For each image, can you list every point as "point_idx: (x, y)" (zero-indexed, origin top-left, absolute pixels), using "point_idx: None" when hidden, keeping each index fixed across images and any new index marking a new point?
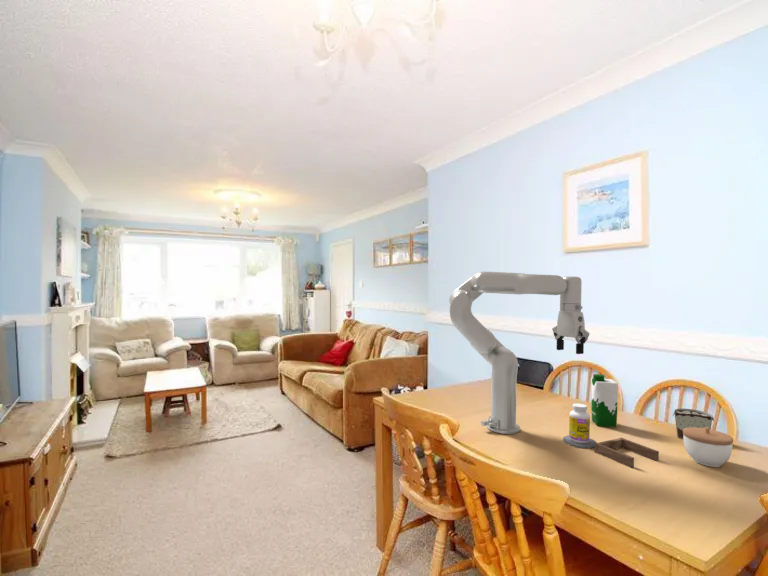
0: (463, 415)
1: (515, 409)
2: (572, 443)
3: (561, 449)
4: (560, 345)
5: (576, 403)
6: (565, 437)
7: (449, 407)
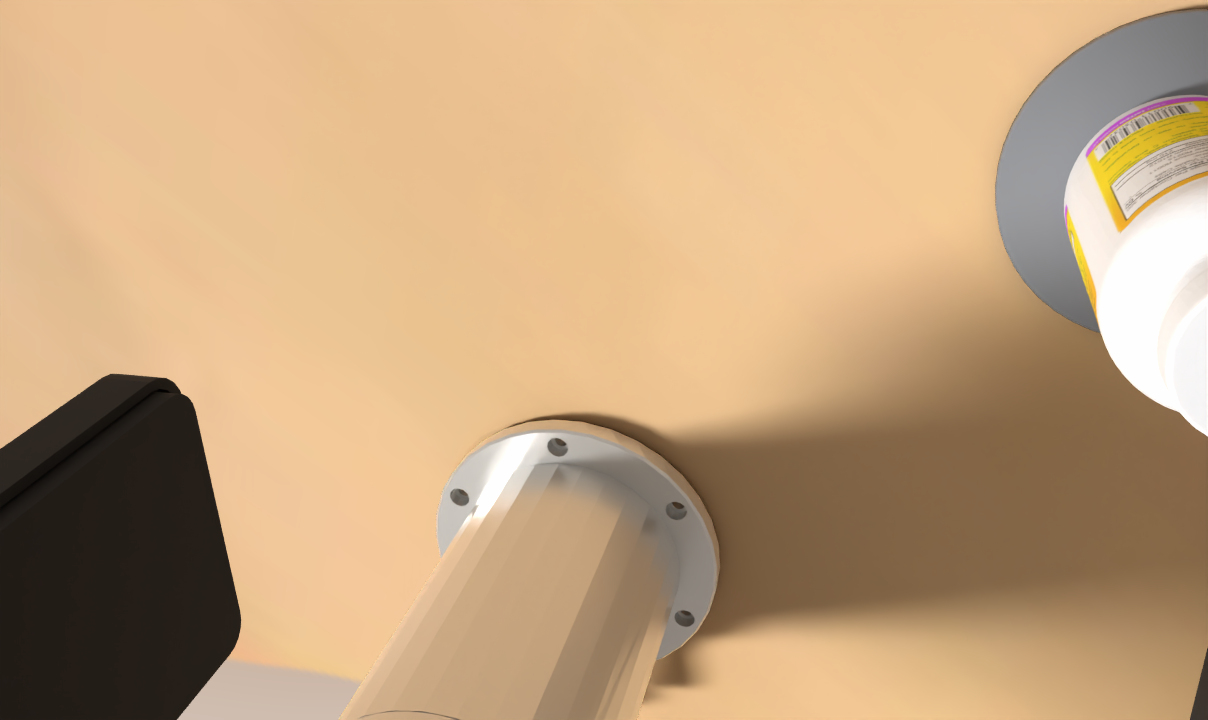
0: None
1: (620, 635)
2: None
3: (1193, 476)
4: (115, 653)
5: (1186, 333)
6: (1028, 252)
7: None
